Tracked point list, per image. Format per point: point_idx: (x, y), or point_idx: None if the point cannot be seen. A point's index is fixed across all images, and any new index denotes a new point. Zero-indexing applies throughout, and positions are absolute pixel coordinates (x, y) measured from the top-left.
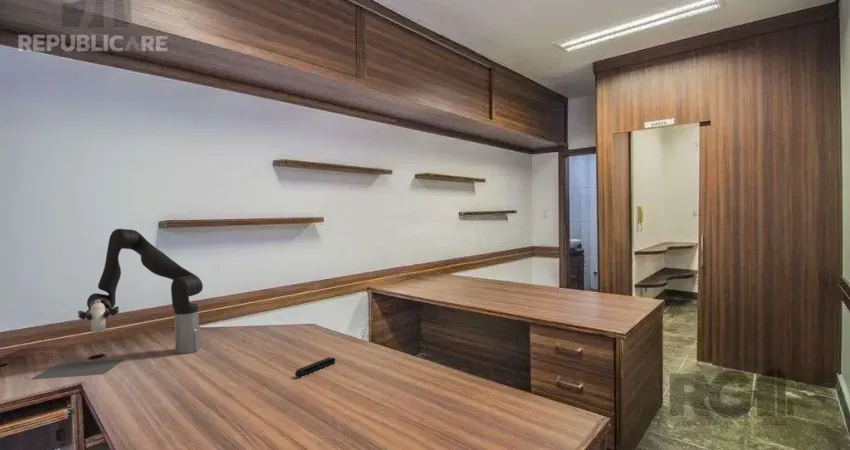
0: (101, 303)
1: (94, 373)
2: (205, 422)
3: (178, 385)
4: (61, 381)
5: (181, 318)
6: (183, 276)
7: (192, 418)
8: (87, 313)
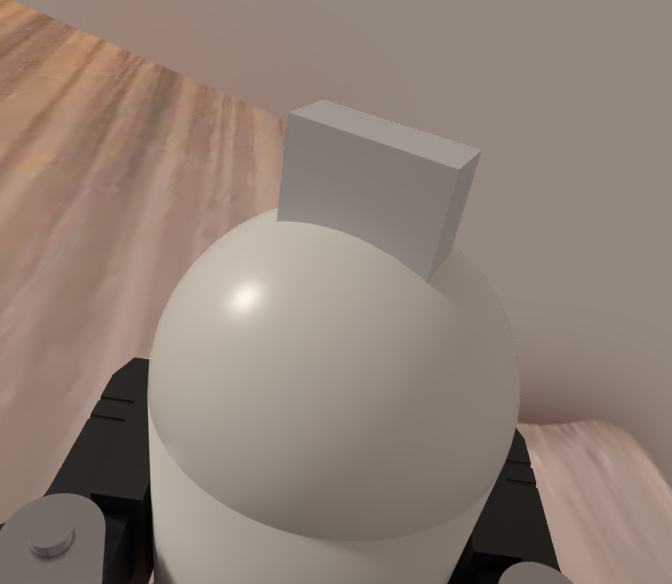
0: (254, 219)
1: None
2: (157, 96)
3: (84, 201)
4: None
5: None
6: None
7: (166, 109)
8: (559, 580)
